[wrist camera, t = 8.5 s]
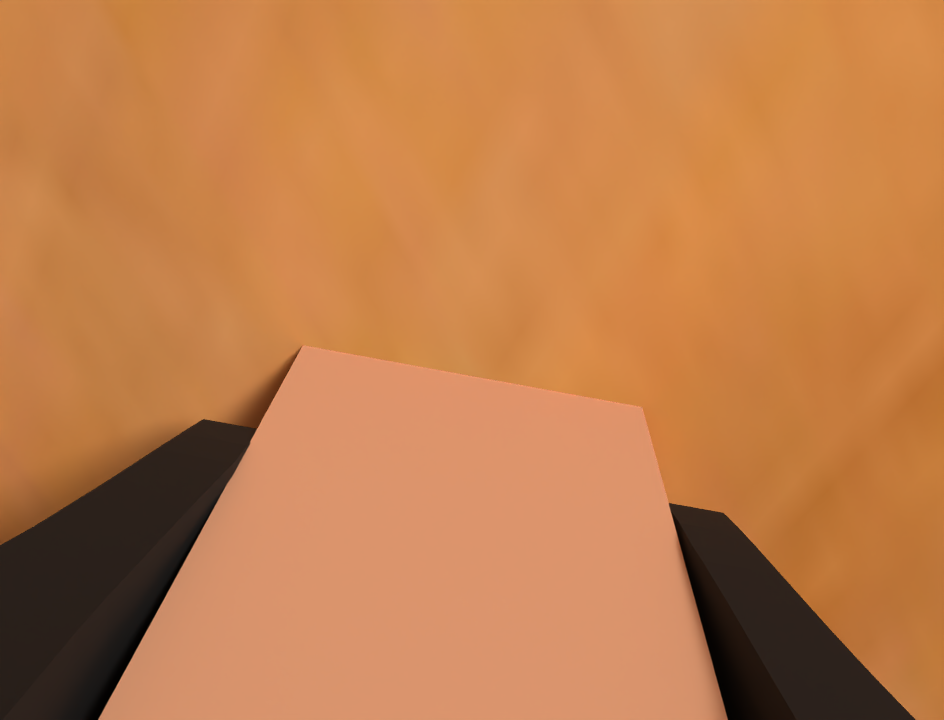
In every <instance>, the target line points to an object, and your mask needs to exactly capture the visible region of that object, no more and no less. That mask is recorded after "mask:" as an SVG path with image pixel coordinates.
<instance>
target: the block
mask: <svg viewBox="0 0 944 720" xmlns="http://www.w3.org/2000/svg"><path fill="white" fill-rule="evenodd" d="M250 442H251V443H250V445H249V447H248V449H247V451H246V452H245V454H244V456H243V458H242V460H241V462H240V463H239V465H238V467H237V469H236V471H235V473H234V474H233V476H232V478H231V479H230V480H229V482H228V483H227V485H226V487H225V489H224V491H223V492H222V494H221V496H220V498H219V500H218V502H217V503H216V505H215V507H214V509H213V511H212V513H211V514H210V516H209V518H208V520H207V522H206V524H205V525H204V527H203V529H202V531H201V533H200V535H199V536H198V538H197V540H196V542H195V544H194V545H193V547H192V549H191V551H190V553H189V555H188V556H187V558H186V560H185V562H184V564H183V566H182V567H181V569H180V571H179V573H178V575H177V577H176V578H175V580H174V582H173V584H172V586H171V588H170V589H169V591H168V593H167V595H166V597H165V599H164V600H163V602H162V604H161V606H160V608H159V610H158V611H157V613H156V615H155V617H154V619H153V620H152V622H151V624H150V626H149V628H148V630H147V631H146V633H145V635H144V637H143V639H142V641H141V642H140V644H139V646H138V648H137V650H136V652H135V653H134V655H133V657H132V659H131V661H130V663H129V664H128V666H127V668H126V670H125V672H124V674H123V675H122V677H121V679H120V681H119V683H118V685H117V686H116V688H115V690H114V692H113V694H112V696H111V697H110V699H109V701H108V703H107V705H106V706H105V708H104V710H103V712H102V714H101V716H100V717H99V719H98V720H728V719H727V715H726V711H725V708H724V704H723V700H722V697H721V693H720V689H719V686H718V682H717V678H716V675H715V671H714V667H713V664H712V660H711V657H710V653H709V649H708V646H707V642H706V638H705V635H704V631H703V627H702V624H701V620H700V616H699V613H698V609H697V605H696V602H695V598H694V594H693V591H692V587H691V584H690V580H689V576H688V573H687V569H686V565H685V562H684V558H683V554H682V551H681V547H680V543H679V540H678V536H677V532H676V529H675V525H674V521H673V518H672V514H671V511H670V507H669V503H668V500H667V496H666V492H665V489H664V485H663V481H662V478H661V474H660V470H659V467H658V463H657V459H656V456H655V452H654V448H653V445H652V441H651V438H650V434H649V430H648V427H647V423H646V419H645V416H644V412H643V408H642V407H638V406H633V405H628V404H622V403H617V402H611V401H606V400H600V399H595V398H589V397H584V396H578V395H573V394H567V393H562V392H556V391H551V390H545V389H540V388H534V387H529V386H523V385H518V384H512V383H507V382H501V381H496V380H490V379H485V378H480V377H474V376H469V375H463V374H458V373H452V372H447V371H441V370H436V369H430V368H425V367H419V366H414V365H408V364H403V363H397V362H392V361H386V360H381V359H375V358H370V357H364V356H359V355H353V354H348V353H342V352H337V351H331V350H326V349H321V348H315V347H310V346H304V345H303V346H302V348H301V350H300V352H299V353H298V355H297V357H296V359H295V361H294V363H293V364H292V366H291V368H290V370H289V372H288V374H287V375H286V377H285V379H284V381H283V383H282V384H281V386H280V388H279V390H278V392H277V394H276V395H275V397H274V399H273V401H272V403H271V405H270V406H269V408H268V410H267V412H266V414H265V416H264V417H263V419H262V421H261V423H260V425H259V427H258V428H257V430H256V432H255V434H254V436H253V438H252V439H251V441H250Z"/></svg>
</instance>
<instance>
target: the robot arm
mask: <svg viewBox="0 0 944 720" xmlns="http://www.w3.org/2000/svg"><path fill="white" fill-rule="evenodd" d="M256 430H257V429H255V428H249V427H244V426H238V425H232V424H227V423H221V422H216V421H210V420H205V419H203V420H201V421H200V422H198V423H196V424H195V425H193V426H192V427H190V428H188V429H187V430H185V431H184V432H182V433H181V434H179V435H177V436H176V437H174V438H173V439H171V440H170V441H168V442H166V443H165V444H163V445H162V446H160V447H159V448H157V449H156V450H154V451H153V452H151V453H149V454H148V455H146V456H145V457H143V458H142V459H140V460H139V461H137V462H136V463H134V464H133V465H131V466H130V467H128V468H126V469H125V470H123V471H122V472H120V473H119V474H117V475H116V476H114V477H112V478H111V479H109V480H108V481H106V482H105V483H103V484H102V485H100V486H99V487H97V488H95V489H94V490H92V491H91V492H89V493H87V494H86V495H84V496H82V497H81V498H79V499H78V500H76V501H74V502H73V503H71V504H70V505H68V506H66V507H65V508H63V509H61V510H60V511H58V512H57V513H55V514H53V515H52V516H50V517H49V518H47V519H45V520H44V521H42V522H40V523H39V524H37V525H36V526H34V527H32V528H30V529H29V530H27V531H25V532H23V533H21V534H20V535H18V536H16V537H14V538H13V539H11V540H9V541H7V542H5V543H4V544H2V545H0V720H98V719H99V717H100V716H101V714H102V712H103V710H104V708H105V706H106V705H107V703H108V701H109V699H110V697H111V696H112V694H113V692H114V690H115V688H116V686H117V685H118V683H119V681H120V679H121V677H122V675H123V674H124V672H125V670H126V668H127V666H128V664H129V663H130V661H131V659H132V657H133V655H134V653H135V652H136V650H137V648H138V646H139V644H140V642H141V641H142V639H143V637H144V635H145V633H146V631H147V630H148V628H149V626H150V624H151V622H152V620H153V619H154V617H155V615H156V613H157V611H158V610H159V608H160V606H161V604H162V602H163V600H164V599H165V597H166V595H167V593H168V591H169V589H170V588H171V586H172V584H173V582H174V580H175V578H176V577H177V575H178V573H179V571H180V569H181V567H182V566H183V564H184V562H185V560H186V558H187V556H188V555H189V553H190V551H191V549H192V547H193V545H194V544H195V542H196V540H197V538H198V536H199V535H200V533H201V531H202V529H203V527H204V525H205V524H206V522H207V520H208V518H209V516H210V514H211V513H212V511H213V509H214V507H215V505H216V503H217V502H218V500H219V498H220V496H221V494H222V492H223V491H224V489H225V487H226V485H227V483H228V482H229V480H230V479H231V478H232V476H233V474H234V473H235V471H236V469H237V467H238V465H239V463H240V462H241V460H242V458H243V456H244V454H245V452H246V451H247V449H248V447H249V445H250V443H251V442H250V441H251V439H252V438H253V436H254V434H255V432H256ZM669 507H670V511H671V514H672V518H673V521H674V525H675V529H676V532H677V536H678V540H679V543H680V547H681V551H682V554H683V558H684V562H685V565H686V569H687V573H688V576H689V580H690V584H691V587H692V591H693V594H694V598H695V602H696V605H697V609H698V613H699V616H700V620H701V624H702V627H703V631H704V635H705V638H706V642H707V646H708V649H709V653H710V657H711V660H712V664H713V667H714V671H715V675H716V678H717V682H718V686H719V689H720V693H721V697H722V700H723V704H724V708H725V711H726V715H727V719H728V720H916V719H915V718H913V717H912V716H911V715H910V714H909V712H908V711H907V710H906V709H905V708H904V707H903V706H902V705H901V704H900V703H899V702H898V701H897V700H896V699H895V698H894V697H893V696H892V695H891V694H890V693H889V692H888V691H887V690H886V689H885V688H884V687H883V686H882V685H881V684H880V682H879V681H878V680H877V679H876V678H875V677H874V676H873V675H872V674H871V673H870V672H869V671H868V670H867V669H866V668H865V667H864V666H863V664H862V663H861V662H860V661H859V660H858V659H857V658H856V657H855V656H854V655H853V654H852V653H851V652H850V651H849V649H848V648H847V647H846V646H845V645H844V644H843V643H842V642H841V641H840V640H839V639H838V638H837V636H836V635H835V634H834V633H833V632H832V631H831V630H830V629H829V628H828V627H827V625H826V624H825V623H824V622H823V621H822V620H821V619H820V618H819V617H818V616H817V614H816V613H815V612H814V611H813V610H812V609H811V608H810V607H809V606H808V604H807V603H806V602H805V601H804V600H803V599H802V598H801V597H800V595H799V594H798V593H797V592H796V591H795V590H794V589H793V588H792V587H791V585H790V584H789V583H788V582H787V581H786V580H785V579H784V578H783V576H782V575H781V574H780V573H779V572H778V571H777V570H776V569H775V567H774V566H773V565H772V564H771V563H770V562H769V561H768V560H767V559H766V557H765V556H764V555H763V554H762V553H761V552H760V551H759V550H758V549H757V547H756V546H755V545H754V544H753V543H752V542H751V541H750V540H749V539H748V538H747V537H746V535H745V534H744V533H743V532H742V531H741V530H740V529H739V528H738V527H737V526H736V525H735V524H734V523H733V522H732V521H731V520H730V519H729V518H728V517H727V516H726V515H725V514H724V513H721V512H715V511H710V510H704V509H699V508H693V507H687V506H682V505H676V504H671V503H669Z"/></svg>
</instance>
